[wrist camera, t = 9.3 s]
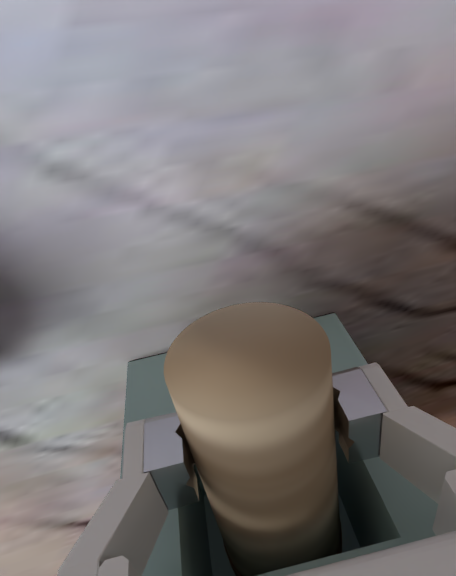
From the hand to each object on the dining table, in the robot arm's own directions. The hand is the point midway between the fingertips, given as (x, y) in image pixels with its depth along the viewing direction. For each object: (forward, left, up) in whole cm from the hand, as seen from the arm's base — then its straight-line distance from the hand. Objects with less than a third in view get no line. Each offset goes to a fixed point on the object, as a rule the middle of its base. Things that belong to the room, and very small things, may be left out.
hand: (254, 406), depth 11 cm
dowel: (+3, 0, -2) cm, 3 cm away
